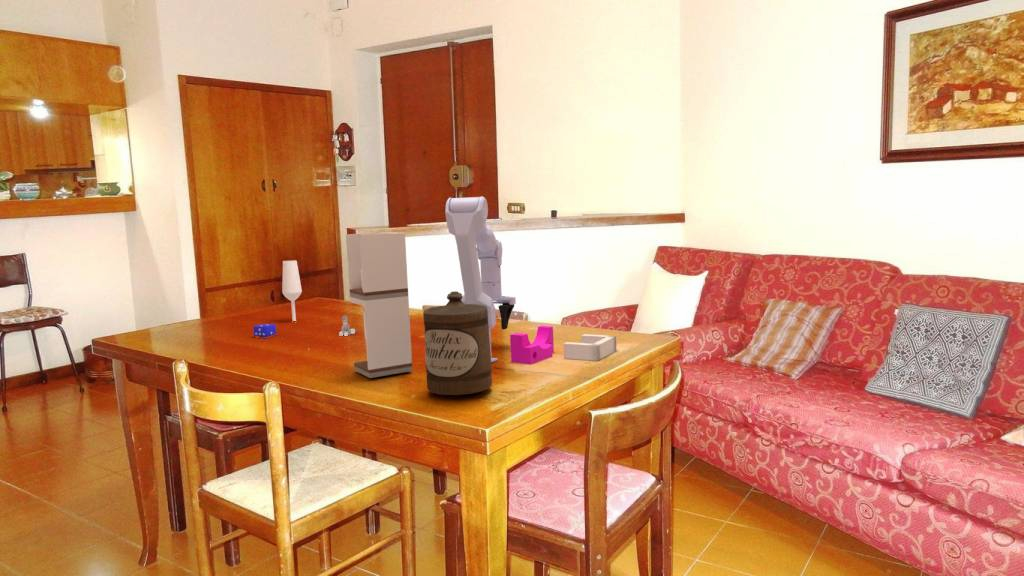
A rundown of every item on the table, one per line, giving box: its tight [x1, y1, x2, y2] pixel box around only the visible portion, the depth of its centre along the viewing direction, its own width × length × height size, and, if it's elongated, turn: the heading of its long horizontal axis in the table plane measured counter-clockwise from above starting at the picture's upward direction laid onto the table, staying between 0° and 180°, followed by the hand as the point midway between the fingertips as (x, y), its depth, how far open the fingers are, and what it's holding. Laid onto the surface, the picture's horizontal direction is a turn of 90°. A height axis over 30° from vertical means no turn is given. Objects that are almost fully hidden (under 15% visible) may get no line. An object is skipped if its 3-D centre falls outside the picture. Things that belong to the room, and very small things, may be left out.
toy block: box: [509, 325, 555, 365], centre depth 188 cm, size 15×6×8 cm, turn 144°
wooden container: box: [422, 290, 493, 396], centre depth 160 cm, size 15×15×22 cm
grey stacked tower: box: [345, 231, 413, 379], centre depth 178 cm, size 11×11×35 cm
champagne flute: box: [281, 259, 303, 322], centre depth 251 cm, size 7×7×24 cm
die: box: [252, 323, 277, 337], centre depth 229 cm, size 5×5×5 cm
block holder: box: [563, 333, 617, 362], centre depth 190 cm, size 14×10×4 cm
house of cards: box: [338, 315, 357, 337], centre depth 227 cm, size 9×9×8 cm
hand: (493, 328), depth 204 cm, fingers open, 7 cm apart
